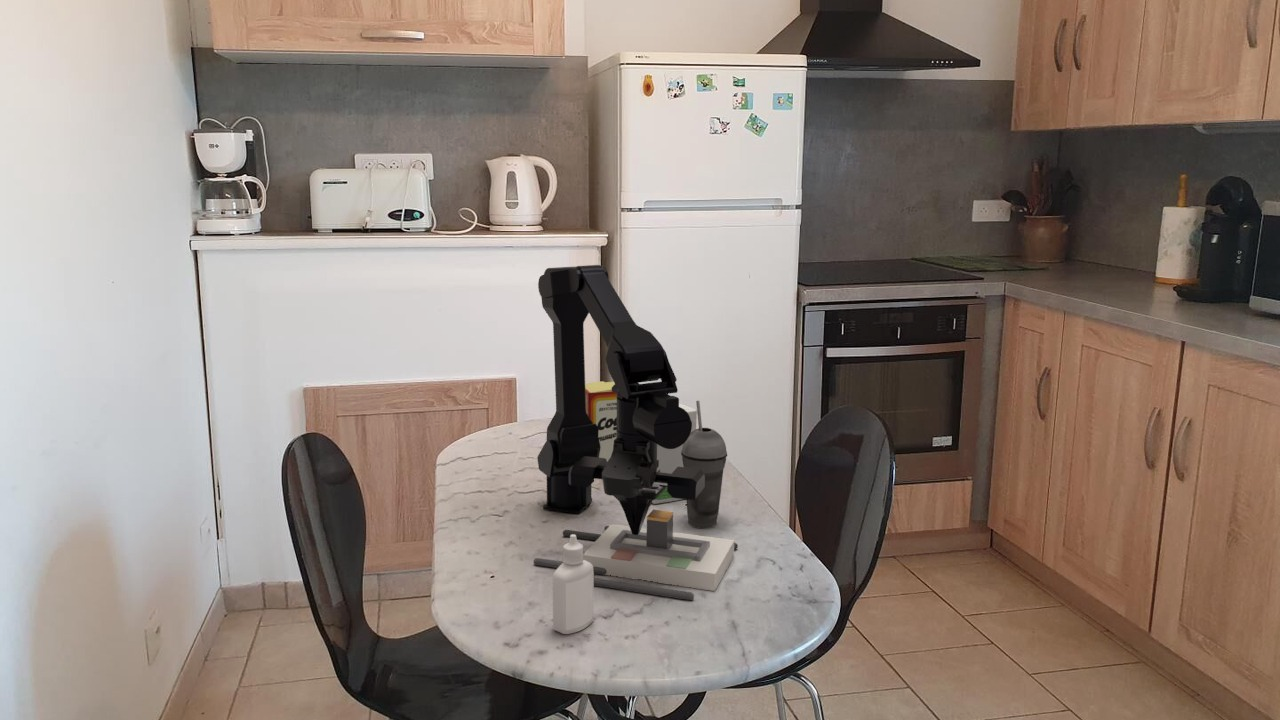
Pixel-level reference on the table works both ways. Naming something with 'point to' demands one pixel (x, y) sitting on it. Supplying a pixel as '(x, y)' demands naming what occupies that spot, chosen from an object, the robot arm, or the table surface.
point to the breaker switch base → (662, 558)
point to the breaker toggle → (660, 529)
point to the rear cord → (594, 535)
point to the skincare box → (672, 458)
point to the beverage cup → (705, 473)
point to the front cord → (622, 584)
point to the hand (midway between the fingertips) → (635, 533)
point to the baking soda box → (603, 414)
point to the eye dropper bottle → (573, 590)
